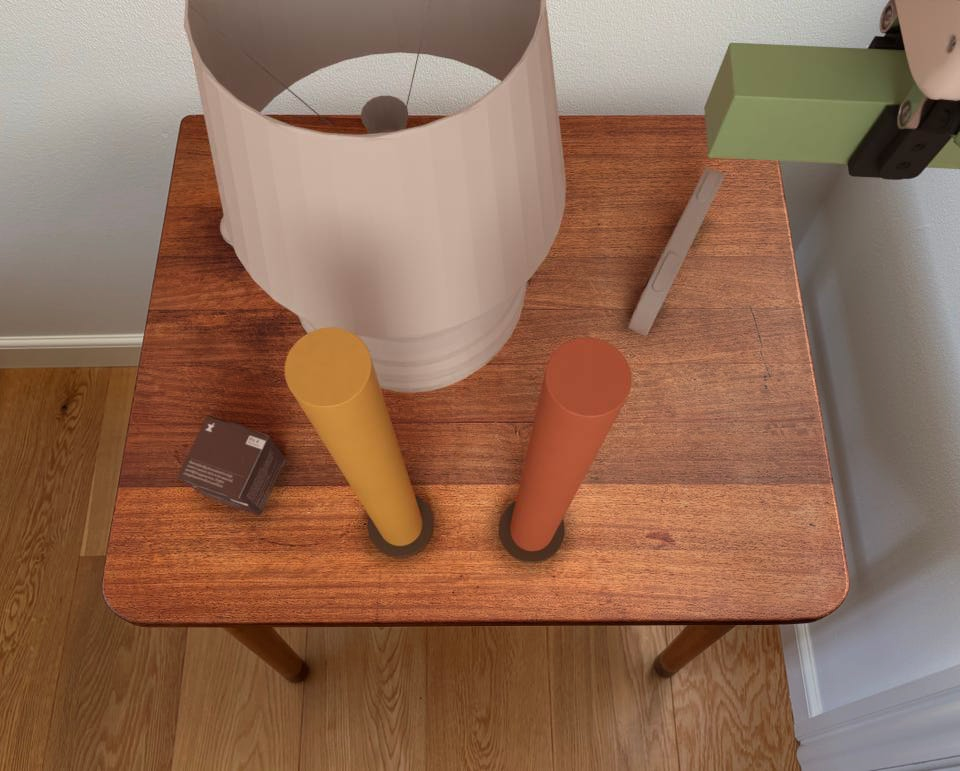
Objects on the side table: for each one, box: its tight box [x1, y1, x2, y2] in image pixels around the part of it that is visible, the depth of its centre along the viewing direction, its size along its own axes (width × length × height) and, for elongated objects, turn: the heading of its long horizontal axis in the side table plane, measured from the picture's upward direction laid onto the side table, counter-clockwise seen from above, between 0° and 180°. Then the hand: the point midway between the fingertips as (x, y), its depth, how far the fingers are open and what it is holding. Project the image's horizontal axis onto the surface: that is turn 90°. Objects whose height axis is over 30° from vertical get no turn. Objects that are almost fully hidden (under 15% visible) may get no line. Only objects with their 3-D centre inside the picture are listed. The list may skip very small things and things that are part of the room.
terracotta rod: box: [498, 336, 633, 565], centre depth 53 cm, size 6×6×38 cm
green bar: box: [704, 42, 960, 170], centre depth 34 cm, size 3×16×4 cm, turn 87°
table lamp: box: [183, 0, 567, 394], centre depth 60 cm, size 25×25×40 cm
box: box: [176, 414, 287, 517], centre depth 69 cm, size 6×6×7 cm
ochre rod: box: [284, 327, 435, 559], centre depth 53 cm, size 6×6×38 cm
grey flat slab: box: [627, 166, 726, 337], centre depth 77 cm, size 20×2×8 cm, turn 152°
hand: (876, 137), depth 36 cm, fingers closed on green bar, 3 cm apart
